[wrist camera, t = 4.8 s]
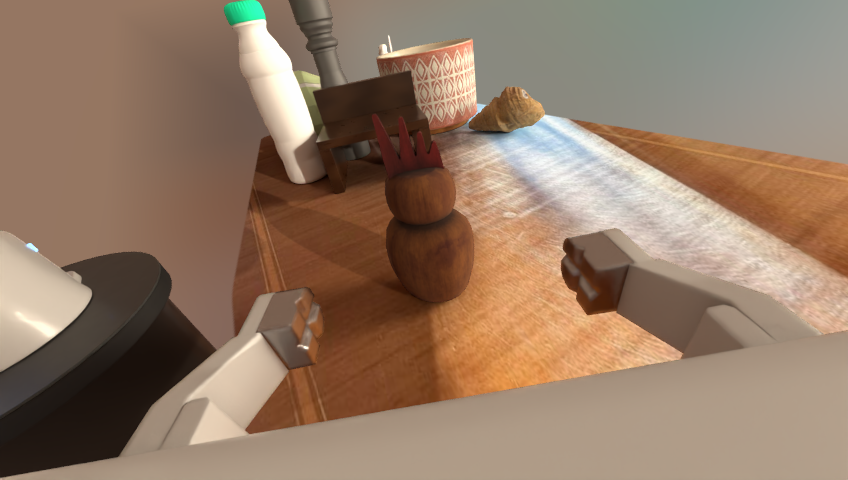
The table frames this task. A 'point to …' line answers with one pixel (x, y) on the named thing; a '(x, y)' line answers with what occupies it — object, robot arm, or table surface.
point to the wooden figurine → (424, 220)
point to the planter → (438, 80)
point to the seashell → (508, 112)
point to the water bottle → (276, 92)
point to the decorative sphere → (310, 96)
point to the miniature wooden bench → (365, 117)
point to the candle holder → (324, 53)
